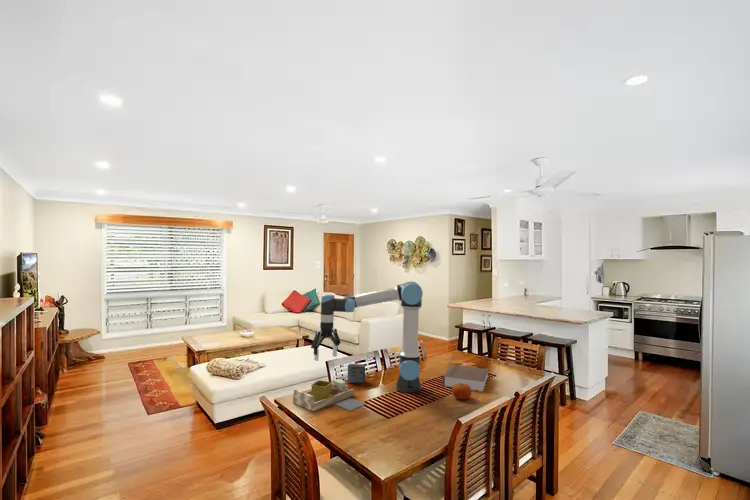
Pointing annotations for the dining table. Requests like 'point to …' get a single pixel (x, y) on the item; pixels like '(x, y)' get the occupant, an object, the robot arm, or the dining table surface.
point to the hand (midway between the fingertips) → (325, 358)
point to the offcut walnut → (336, 391)
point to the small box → (356, 373)
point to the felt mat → (350, 404)
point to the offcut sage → (339, 382)
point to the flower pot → (321, 389)
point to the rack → (308, 401)
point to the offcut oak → (339, 387)
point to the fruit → (461, 391)
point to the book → (466, 377)
